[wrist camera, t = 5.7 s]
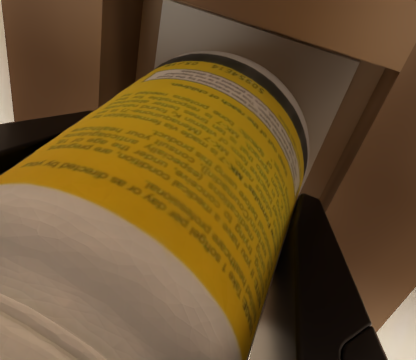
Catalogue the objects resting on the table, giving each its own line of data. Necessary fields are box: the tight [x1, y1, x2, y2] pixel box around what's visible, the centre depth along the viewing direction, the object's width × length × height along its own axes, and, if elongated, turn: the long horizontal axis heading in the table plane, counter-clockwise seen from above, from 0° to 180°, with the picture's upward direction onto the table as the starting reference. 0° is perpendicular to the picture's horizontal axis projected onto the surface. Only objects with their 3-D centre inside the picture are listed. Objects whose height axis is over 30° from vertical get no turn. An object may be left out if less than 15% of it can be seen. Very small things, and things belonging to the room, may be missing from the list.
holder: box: [1, 0, 416, 332], centre depth 11 cm, size 12×12×3 cm
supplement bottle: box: [0, 51, 309, 360], centre depth 7 cm, size 5×5×8 cm
